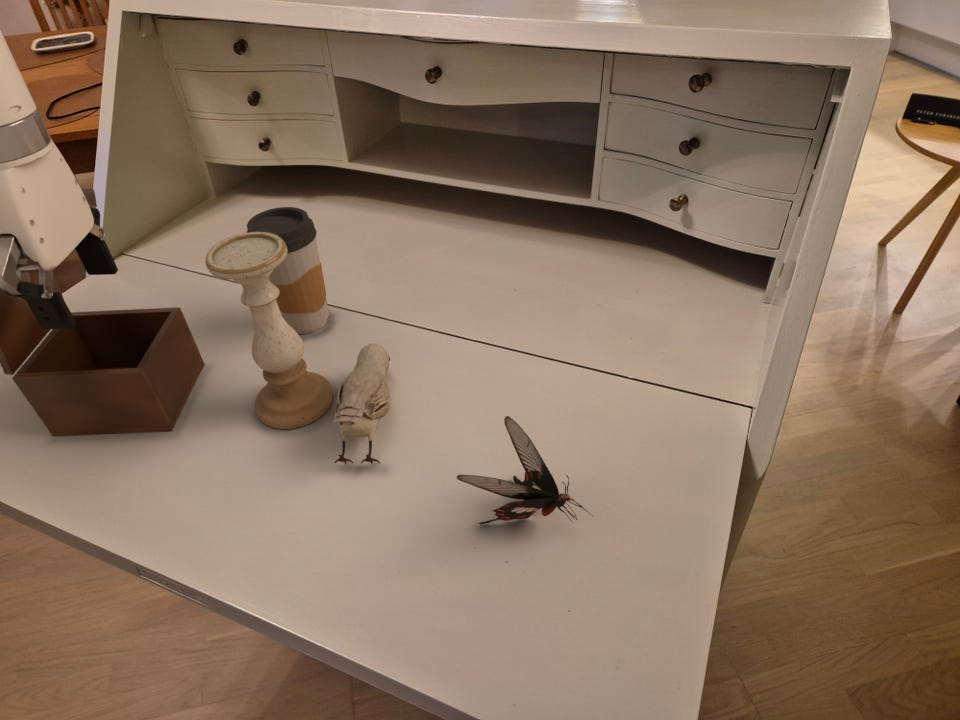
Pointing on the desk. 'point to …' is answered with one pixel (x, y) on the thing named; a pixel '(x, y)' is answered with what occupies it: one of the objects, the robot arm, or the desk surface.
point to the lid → (19, 327)
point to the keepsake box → (113, 372)
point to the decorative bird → (363, 397)
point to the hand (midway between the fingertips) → (83, 298)
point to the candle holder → (271, 331)
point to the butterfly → (524, 482)
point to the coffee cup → (296, 268)
